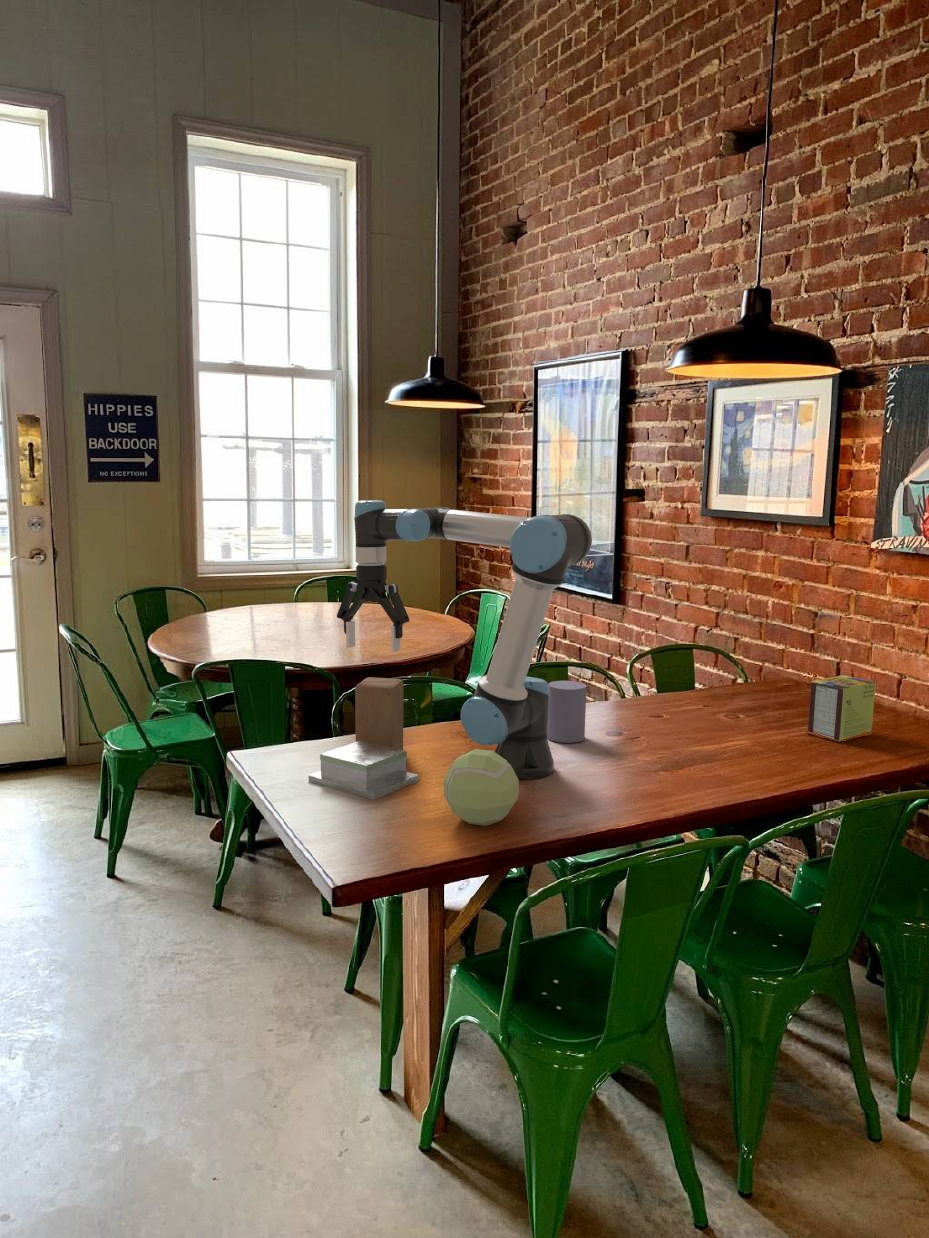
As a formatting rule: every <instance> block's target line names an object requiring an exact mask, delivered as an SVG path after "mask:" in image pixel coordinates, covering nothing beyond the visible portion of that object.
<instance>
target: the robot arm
mask: <svg viewBox="0 0 929 1238" xmlns="http://www.w3.org/2000/svg"><path fill="white" fill-rule="evenodd" d="M353 520H354V530H355V531H354V533H355V563H357V565H356V566H355V570H356V571H355V574H356V576H355V577H356V580H357V583H356V581H351V582H346V585H345V586H346V587H345V592H344V596H343V598H342V601H341V603H340V605H339V609H338V611H337V614H336V618H337V619H341V620H342V621H343V632H344V634H345V635H346V638H345V639H346V648H354V647H356V621H355V620H354V617H355V615H357V613H358V612H359V610H360V608H361V607H362V606H363V604H364V603H366V602H371V603H377V604H378V605H380V606H381V608H382V609H383V610H384V611H385V614H386V615H387V616H388V617H389V619H390V620H391V622H392V625H391V626H390V628H391V629H390V630H391V635H390V636H391V637H390V638H391V653H398V652H400V651H401V639H402V638H403V632H404V631H403V625H405V624H407V623H409V622H410V617H409V615H408V613H407V610H406V608H405V605H404V603H403V601H402V598H401V596H400V594H399V588H398V585H397V584H396V583H395V584H389V585H387V579H388V572H387V571H388V569H387V568H388V566H387V565H386V564H385V563H386V562H387V541H398V542H399V541H400V542H408V543H411V542H421V541H423V540H426V539H438V540H439V539H440V540H445V541H446V540H448V541H456V542H463V543H464V542H465V543H472V544H480V545H486V546H487V545H488V546H495V547H501V548H503V547H504V548H508V549H509V553H510V555H511V559H512V566H511V571H512V573H513V575H514V577H515V579H514V584H513V586H512V590H511V594H510V597H509V601H508V603H507V607H506V610H505V613H504V617H503V621H502V623H501V628H500V631H499V634H498V638H497V641H496V643H495V648H494V650H493V654H492V658H491V661H490V665H489V666H488V667H489V668H488V671H487V674H485V675H483V676H481V677H480V678H479V679H478V681H477V685H476V688H475V692H474V694H473V696H472V697H470V698H468V699H467V700H466V701H465V702H464V703H463V705H462V707H461V709H460V722H461V726H462V727H463V729H464V730H465V731H464V732H465V733H466V735H467V736H468V737H469V739H470V740H472V741H473V742H475V743H476V744H478V745H481V746H485V747H490V746H493V745H496V747H495V750H494V752H495V753H497V754H498V755H499V756H501V757H502V758H504V759H505V760H507V762H508V763H509V764H510V765H511V766H512V768H513V770H514V772H515V774H516V776H517V778H518V780H535V779H542V778H546V777H549V776H550V775H552V774H553V773H554V769H555V768H554V767H555V762H554V761H555V760H554V757H553V755H552V752H551V748H550V745H549V741H548V740H549V739H548V738H547V733H548V706H549V686H548V684H549V683H548V682H547V681H546V680H545V679H543V678H537V677H532V676H527V675H528V673H529V669H530V665H531V663H532V660H533V656H534V653H535V649H536V647H537V643H538V641H539V637H540V633H541V631H542V627H543V624H544V621H545V618H546V614H547V611H548V608H549V605H550V602H551V598H552V595H553V592H554V590H555V589H556V588H558V587H560V586H562V585H563V583H564V580H565V576H566V573H567V570H568V568H569V567H571V566H576V565H577V564H579V563H581V562H582V561H583V560H584V559H585V558H586V557H587V556H588V555H589V553H590V551H591V548H592V544H593V537H592V531H591V530H590V527H589V526H588V524H587V523H586V522H585V520H583V519H582V518H580V517H579V516H577V515H573V514H570V513H568V514H567V513H563V514H555V515H554V514H552V515H551V514H550V515H549V514H541V515H535V516H533V517H528V516H526V517H525V516H519V515H509V514H500V513H492V512H491V513H487V512H479V511H469V510H461V509H459V510H458V509H451V508H449V507H445V506H444V507H443V506H434V507H425V508H424V507H423V508H403V509H401V508H399V509H397V508H395V509H394V508H391V509H389V508H387V506H386V502H385V501H384V500H358V501H357V502H356V503H355V506H354V518H353ZM356 592H358V594H357V595H356V597H355V594H356ZM386 593H387V594H388V595H387V594H386ZM388 596H389V597H388ZM354 597H355V598H354Z"/></svg>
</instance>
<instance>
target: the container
mask: <svg viewBox="0 0 929 1238" xmlns="http://www.w3.org/2000/svg"><path fill="white" fill-rule="evenodd" d="M548 686H549V706H548V733H547V740H550V741H552V742H554V743H559V744H576V743H580V742H582V741H584V740H585V735H586V734H585V733H586V709H587V703H586V702H587V684H585V683H584V682H579V681H574V680H555V681H550V682H549V683H548Z"/></svg>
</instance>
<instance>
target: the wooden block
mask: <svg viewBox="0 0 929 1238" xmlns="http://www.w3.org/2000/svg"><path fill="white" fill-rule="evenodd" d="M354 690H355V697H354V698H355V701H354V703H355V742H357V741H360V740H363V741H367V742H371V743H375V744H380V745H384V746H388V747H392V748H396V749H400V750H404V681H403V680H402V679H401V678H387V677H371V676H369V677H366V678H365V679H363V680H361V682H358V683H357V684H356V686H355V689H354Z"/></svg>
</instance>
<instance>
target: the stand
mask: <svg viewBox="0 0 929 1238" xmlns="http://www.w3.org/2000/svg"><path fill="white" fill-rule="evenodd" d="M407 755H408V751H406V750H404V749H403V750H400V749H396V748H392V747H388V746H384V745H380V744H375V743H371V742H367V741H363V740H360V741H357V742H356V741H355V742H351V743H348V744H346V745H344V746H340V747H336V748H333V749H331V750H329V751H328V750H327V751H325V752H322V753H320V754H319V759H320V770H319V771H317V772H314V773H311V774H309V775H308V782H309V783H312V784H317V785H320V786H324V787H327V788H330V789H333V790H338V791H340V792H343V793H347V794H351V795H355V796H358V797H361V798H365V799H368V800H372V801H374V800H376V799H379V798H381V797H384V796H387V795H388V794H389V795H390V794H392V793H393V792H397V791H398V790H401V789H403V788H406V787H407V786H410V785H412V784H414V783H417V782H419V774H417V773H413V772H409V771H407Z"/></svg>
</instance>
